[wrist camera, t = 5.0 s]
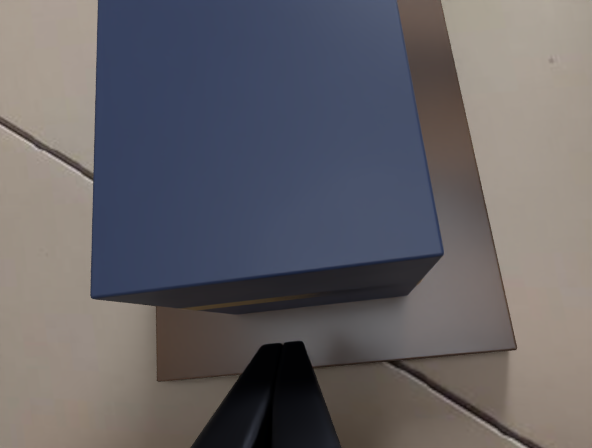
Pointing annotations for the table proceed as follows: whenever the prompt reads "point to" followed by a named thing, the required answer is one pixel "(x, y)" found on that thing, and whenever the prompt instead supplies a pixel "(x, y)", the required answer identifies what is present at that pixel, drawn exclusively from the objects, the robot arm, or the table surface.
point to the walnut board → (395, 310)
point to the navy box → (257, 156)
